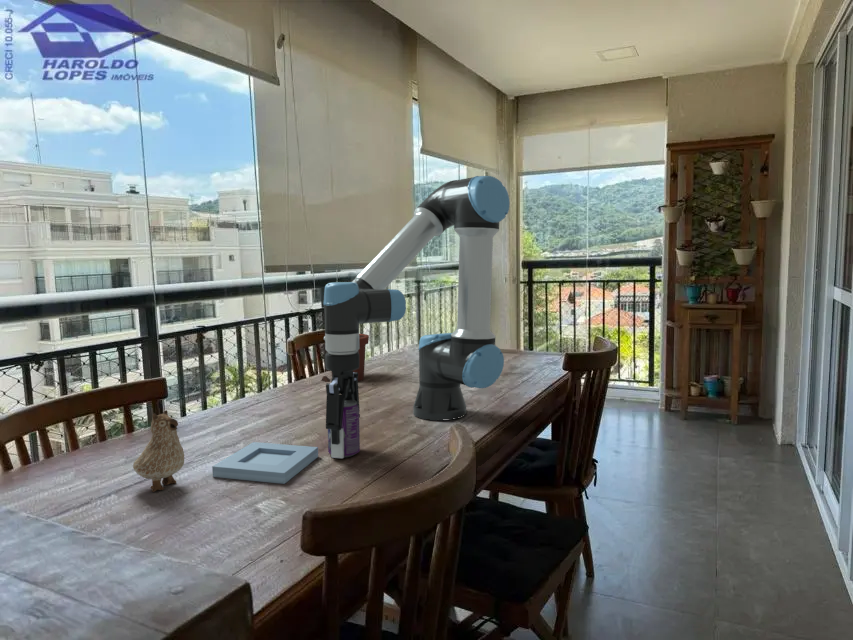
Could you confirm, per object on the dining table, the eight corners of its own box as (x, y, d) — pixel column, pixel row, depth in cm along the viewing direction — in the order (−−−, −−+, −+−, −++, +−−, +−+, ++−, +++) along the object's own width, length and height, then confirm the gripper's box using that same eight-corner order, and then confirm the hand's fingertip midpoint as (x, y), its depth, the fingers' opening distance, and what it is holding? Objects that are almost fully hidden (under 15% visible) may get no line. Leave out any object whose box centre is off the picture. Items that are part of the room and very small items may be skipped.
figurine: (167, 498, 107) (163, 419, 106) (121, 494, 109) (116, 417, 107) (195, 479, 116) (192, 407, 115) (152, 476, 118) (148, 404, 116)
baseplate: (318, 456, 129) (318, 447, 129) (284, 483, 114) (284, 473, 114) (253, 451, 133) (253, 441, 133) (212, 476, 118) (212, 466, 117)
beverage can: (329, 449, 134) (328, 398, 133) (360, 448, 135) (359, 398, 134) (327, 459, 127) (325, 406, 126) (359, 458, 128) (358, 405, 127)
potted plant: (381, 376, 216) (380, 310, 213) (352, 389, 196) (351, 315, 193) (339, 373, 222) (338, 308, 219) (308, 385, 202) (306, 314, 199)
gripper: (343, 344, 139) (344, 437, 142) (307, 358, 120) (309, 465, 122) (372, 345, 137) (374, 439, 140) (341, 360, 118) (343, 468, 121)
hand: (344, 451), depth 131 cm, fingers closed on beverage can, 7 cm apart
